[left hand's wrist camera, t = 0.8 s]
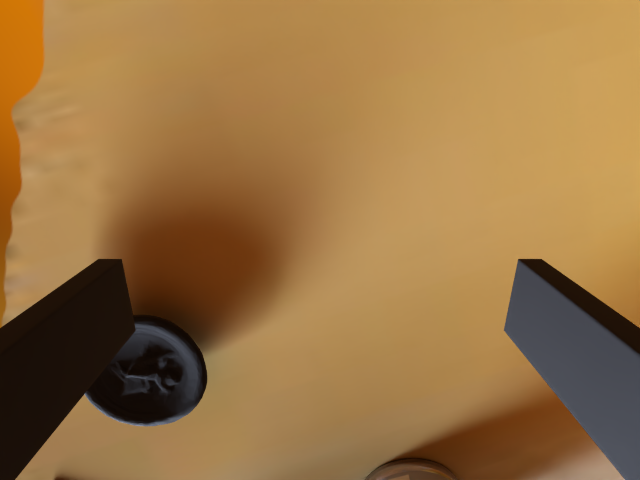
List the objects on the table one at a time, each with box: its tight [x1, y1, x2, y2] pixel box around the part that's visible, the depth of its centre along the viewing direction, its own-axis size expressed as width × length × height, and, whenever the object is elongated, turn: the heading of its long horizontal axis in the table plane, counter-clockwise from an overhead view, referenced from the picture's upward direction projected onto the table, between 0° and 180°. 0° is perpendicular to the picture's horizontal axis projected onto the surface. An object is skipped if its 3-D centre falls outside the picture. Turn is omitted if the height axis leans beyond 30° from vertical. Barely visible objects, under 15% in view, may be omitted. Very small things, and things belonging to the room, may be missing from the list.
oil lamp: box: [85, 315, 207, 426], centre depth 44 cm, size 15×20×5 cm
